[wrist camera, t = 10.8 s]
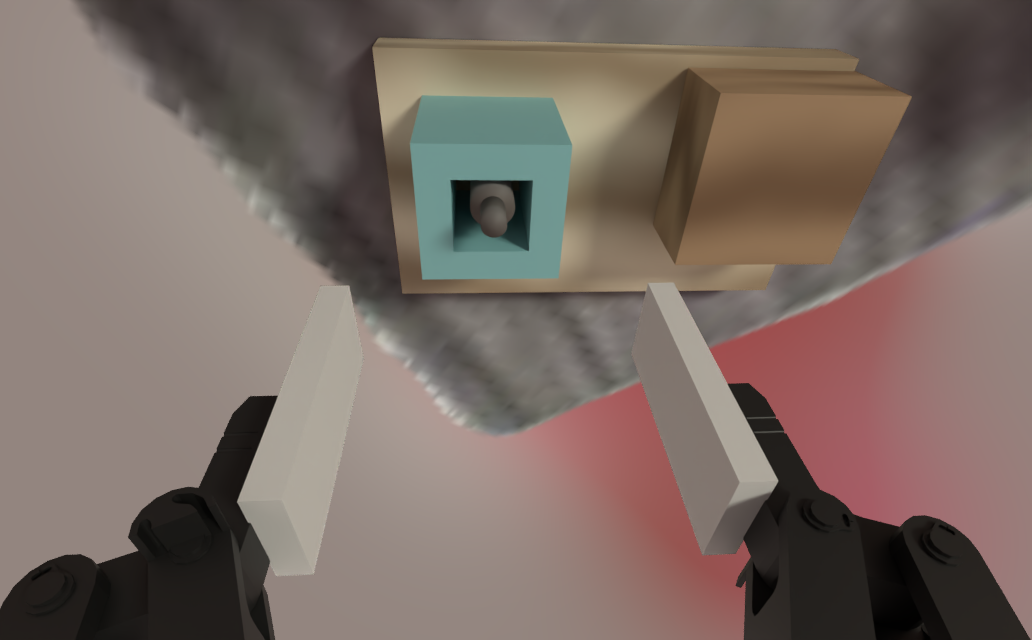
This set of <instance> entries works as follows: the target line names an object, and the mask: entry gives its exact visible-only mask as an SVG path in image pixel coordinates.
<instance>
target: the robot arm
mask: <svg viewBox="0 0 1032 640" xmlns="http://www.w3.org/2000/svg"><path fill="white" fill-rule="evenodd" d="M631 354H632V357H633V360H634V363H635V365H636V368H637V371H638V374H639V377H640V380H641V382H642V385H643V388H644V391H645V394H646V397H647V400H648V402H649V405H650V408H651V411H652V414H653V417H654V419H655V422H656V425H657V428H658V431H659V434H660V436H661V439H662V442H663V445H664V448H665V451H666V453H667V456H668V459H669V462H670V465H671V468H672V471H673V473H674V476H675V479H676V482H677V485H678V487H679V490H680V493H681V496H682V499H683V502H684V505H685V507H686V510H687V513H688V516H689V519H690V522H691V524H692V527H693V530H694V533H695V536H696V539H697V542H698V544H699V547H700V550H701V553H702V555H717V554H735V553H736V552H737V550H738V549H739V547H740V545H741V544H742V542H743V540H744V541H745V543H746V546H747V548H748V551H749V553H750V555H751V558H750V559H749V561H748V562H747V564H746V566H745V567H744V569H743V570H742V572H741V573H740V575H739V577H738V580H737V583H736V586H737V587H740V588H741V587H742V585H743V584H744V582H745V581H746V592H745V622H744V640H1030V638H1029V636H1028V635H1027V633H1026V631H1025V630H1024V628H1023V626H1022V624H1021V623H1020V621H1019V620H1018V617H1017V616H1016V614H1015V612H1014V611H1013V609H1012V607H1011V606H1010V604H1009V602H1008V601H1007V599H1006V597H1005V595H1004V594H1003V592H1002V590H1001V589H1000V587H999V585H998V584H997V582H996V580H995V578H994V577H993V575H992V573H991V572H990V570H989V568H988V566H987V565H986V563H985V561H984V560H983V558H982V556H981V555H980V553H979V551H978V550H977V549H976V547H975V546H974V545H973V544H972V542H971V541H970V540H969V539H968V538H967V537H966V536H965V535H963V534H962V533H961V532H960V531H958V530H957V529H956V528H955V527H953V526H951V525H949V524H947V523H946V522H944V521H942V520H940V519H936V518H932V517H929V516H925V515H924V516H913V517H911V518H909V519H908V520H906V521H905V522H904V523H903V524H902V525H901V526H900V527H898V526H894V525H890V524H886V523H882V522H878V521H874V520H870V519H866V518H862V517H859V516H857V515H854V514H852V512H851V511H850V510H849V508H848V507H847V506H846V505H845V504H844V503H842V502H841V501H840V500H838V499H837V498H836V497H834V496H833V495H830V494H828V493H826V492H824V491H822V490H820V489H819V488H818V486H817V485H816V483H815V482H814V480H813V478H812V476H811V475H810V473H809V471H808V470H807V468H806V466H805V465H804V463H803V461H802V459H801V458H800V456H799V455H798V453H797V451H796V449H795V448H794V446H793V444H792V443H791V441H790V439H789V437H788V436H787V434H785V433H784V429H783V427H782V426H781V424H780V422H779V420H778V419H776V416H775V414H774V412H773V410H772V409H771V407H770V405H769V404H768V402H767V400H766V399H765V397H763V396H762V395H761V394H760V393H759V392H758V391H757V390H756V389H754V388H753V387H752V386H751V385H750V384H749V383H741V384H740V383H739V384H727V383H726V380H725V379H724V377H723V375H722V373H721V371H720V369H719V367H718V365H717V364H716V362H715V360H714V358H713V356H712V354H711V352H710V350H709V348H708V346H707V344H706V343H705V341H704V339H703V337H702V335H701V333H700V331H699V329H698V327H697V326H696V324H695V322H694V320H693V318H692V316H691V314H690V312H689V310H688V308H687V307H686V305H685V303H684V301H683V299H682V297H681V295H680V293H679V291H678V290H677V288H676V286H675V284H674V283H648V285H647V289H646V293H645V298H644V302H643V306H642V310H641V315H640V319H639V323H638V327H637V332H636V336H635V340H634V345H633V349H632V353H631ZM363 360H364V358H363V353H362V348H361V343H360V338H359V333H358V328H357V323H356V317H355V312H354V307H353V302H352V297H351V292H350V287H349V286H321V287H320V289H319V292H318V294H317V297H316V299H315V302H314V304H313V307H312V310H311V312H310V315H309V317H308V320H307V323H306V325H305V328H304V330H303V333H302V336H301V338H300V341H299V343H298V346H297V349H296V351H295V354H294V357H293V359H292V362H291V364H290V367H289V369H288V372H287V374H286V377H285V379H284V382H283V385H282V387H281V390H280V392H279V395H278V396H250V397H249V398H248V399H247V400H246V401H245V402H244V403H243V404H242V405H241V406H240V407H239V408H238V409H237V410H236V411H235V412H234V413H233V414H232V417H231V419H230V421H229V423H228V425H227V427H226V430H225V432H224V437H222V438H221V440H220V443H219V445H218V447H217V452H216V453H214V456H213V458H212V460H211V462H210V464H209V466H208V469H207V471H206V473H205V476H204V477H203V480H202V482H201V484H200V486H199V488H194V487H185V488H181V489H176V490H172V491H170V492H168V493H166V494H164V495H162V496H160V497H157V498H156V499H155V500H153V501H152V502H151V503H150V504H148V505H147V506H146V507H145V508H143V509H142V510H141V512H140V513H139V514H138V516H137V517H136V519H135V520H134V522H133V523H132V525H131V529H130V533H129V536H128V538H129V539H130V540H131V542H132V543H133V544H134V545H135V546H136V548H137V549H138V550H139V551H136V552H133V553H130V554H127V555H124V556H121V557H118V558H115V559H112V560H109V561H106V562H102V563H99V564H96V563H95V562H94V561H93V560H92V559H90V558H88V557H86V556H83V555H81V554H78V555H64V556H61V557H58V558H55V559H52V560H49V561H47V562H45V563H44V564H42V565H40V566H39V567H37V568H35V569H34V570H32V571H30V572H29V573H28V574H27V575H26V576H25V577H24V578H23V579H21V580H20V581H19V582H18V583H17V584H16V585H15V586H14V587H13V589H12V590H11V592H10V593H9V595H8V596H7V598H6V599H5V601H4V602H3V604H2V606H1V608H0V640H275V636H274V630H273V624H272V618H271V612H270V607H269V601H268V595H267V592H266V590H265V588H264V585H263V584H264V580H265V577H266V573H267V570H268V567H269V564H270V565H271V567H272V569H273V571H274V573H275V575H276V576H287V575H288V576H289V575H309V574H314V571H315V566H316V562H317V558H318V553H319V549H320V545H321V540H322V536H323V532H324V527H325V523H326V519H327V515H328V510H329V506H330V502H331V497H332V493H333V489H334V484H335V480H336V476H337V472H338V467H339V463H340V459H341V454H342V450H343V445H344V441H345V437H346V433H347V429H348V424H349V420H350V416H351V411H352V407H353V403H354V398H355V394H356V390H357V385H358V381H359V377H360V372H361V368H362V364H363Z"/></svg>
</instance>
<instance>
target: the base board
mask: <svg viewBox="0 0 1032 640" xmlns="http://www.w3.org/2000/svg"><path fill="white" fill-rule="evenodd" d="M372 49H373V57H374V66H375V74H376V82H377V90H378V98H379V106H380V115H381V123H382V131H383V139H384V147H385V155H386V164H387V172H388V180H389V188H390V196H391V204H392V213H393V221H394V229H395V237H396V245H397V253H398V262H399V270H400V278H401V286H402V294H412V293H510V292H609V291H646V289H647V285H648V283H674V284H675V286H676V288H677V290H678V291H707V290H765V289H766V287H767V285H768V282H769V280H770V277H771V275H772V272H773V270H774V267H775V265H776V264H765V265H675V264H674V262H673V260H672V259H671V257H670V255H669V253H668V251H667V250H666V248H665V246H664V244H663V242H662V241H661V239H660V237H659V235H658V233H657V232H656V230H655V228H654V226H653V223H654V219H655V214H656V210H657V205H658V201H659V196H660V192H661V187H662V183H663V178H664V174H665V169H666V165H667V160H668V156H669V151H670V147H671V142H672V138H673V133H674V129H675V124H676V120H677V115H678V111H679V106H680V102H681V97H682V93H683V88H684V84H685V79H686V75H687V70H688V68H729V69H773V70H818V71H855V68H856V66H857V64H858V61H859V59H858V58H855V57H853V56H851V55H848V54H846V53H843V52H841V51H839V50H836V49H803V48H764V47H726V46H687V45H648V44H609V43H570V42H531V41H492V40H453V39H414V38H378V39H377V41H376V42H375V44H374V45H373V47H372ZM422 95H428V96H484V97H540V98H553V99H554V102H555V104H556V106H557V109H558V111H559V114H560V116H561V119H562V121H563V123H564V126H565V128H566V131H567V133H568V136H569V138H570V141H571V143H572V154H571V164H570V173H569V183H568V193H567V202H566V212H565V221H564V231H563V241H562V250H561V260H560V269H559V278H549V279H425V280H422V270H421V259H420V248H419V237H418V226H417V215H416V204H415V193H414V182H413V171H412V160H411V149H410V141H411V137H412V133H413V129H414V125H415V121H416V117H417V113H418V109H419V105H420V101H421V97H422ZM456 190H470V211H471V214H472V216H473V218H474V219H475V221H476V222H478V223H479V224H480V225H481V230H482V232H483V233H484V234H485V235H486V236H488V237H492V238H496V237H499V236H501V235H503V234H504V233H505V232H506V229H507V223H508V222H509V221H510V220H511V218H512V217H513V215H514V212H515V201H514V194H513V190H519V180H456Z"/></svg>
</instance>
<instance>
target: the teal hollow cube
mask: <svg viewBox="0 0 1032 640" xmlns="http://www.w3.org/2000/svg"><path fill="white" fill-rule="evenodd" d="M410 149H411V160H412V171H413V182H414V193H415V204H416V215H417V226H418V237H419V248H420V259H421V270H422V280H425V279H549V278H559V269H560V260H561V250H562V241H563V231H564V221H565V212H566V202H567V193H568V183H569V173H570V164H571V154H572V143H571V141H570V138H569V136H568V133H567V131H566V128H565V126H564V123H563V121H562V119H561V116H560V114H559V111H558V109H557V106H556V104H555V102H554V99H553V98H540V97H484V96H428V95H422V97H421V101H420V105H419V109H418V113H417V117H416V121H415V125H414V129H413V133H412V137H411V141H410ZM456 180H519V190H513V194H514V201H515V212H514V215H513V217H512V218H511V220H510V221H509V222H508V223H507V229H506V232H505V233H504V234H503V235H501V236H499V237H496V238H492V237H488V236H486V235H485V234H484V233H483V232H482V230H481V225H480V224H479V223H478V222H476V221H475V219H474V218H473V216H472V214H471V211H470V190H456Z"/></svg>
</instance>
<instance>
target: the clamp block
mask: <svg viewBox="0 0 1032 640" xmlns="http://www.w3.org/2000/svg"><path fill="white" fill-rule="evenodd" d="M911 98H912V96H909V95H907V94H905V93H903V92H901V91H898V90H896V89H894V88H892V87H889V86H887V85H885V84H883V83H881V82H878V81H876V80H874V79H872V78H869V77H867V76H865V75H863V74H861V73H858V72H856V71H818V70H773V69H729V68H688V70H687V75H686V79H685V84H684V88H683V93H682V97H681V102H680V106H679V111H678V115H677V120H676V124H675V129H674V133H673V138H672V142H671V147H670V151H669V156H668V160H667V165H666V169H665V174H664V178H663V183H662V187H661V192H660V196H659V201H658V205H657V210H656V214H655V219H654V223H653V226H654V228H655V230H656V232H657V233H658V235H659V237H660V239H661V241H662V242H663V244H664V246H665V248H666V250H667V251H668V253H669V255H670V257H671V259H672V260H673V262H674V264H675V265H765V264H831V263H832V261H833V259H834V257H835V255H836V253H837V251H838V249H839V247H840V244H841V242H842V240H843V238H844V236H845V234H846V232H847V230H848V228H849V226H850V224H851V222H852V220H853V218H854V216H855V214H856V211H857V209H858V207H859V205H860V203H861V201H862V199H863V197H864V195H865V193H866V191H867V189H868V187H869V185H870V183H871V181H872V178H873V176H874V174H875V172H876V170H877V168H878V166H879V164H880V162H881V160H882V158H883V156H884V154H885V152H886V150H887V148H888V145H889V143H890V141H891V139H892V137H893V135H894V133H895V131H896V129H897V127H898V125H899V123H900V121H901V119H902V117H903V114H904V112H905V110H906V108H907V106H908V104H909V102H910V100H911Z"/></svg>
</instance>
